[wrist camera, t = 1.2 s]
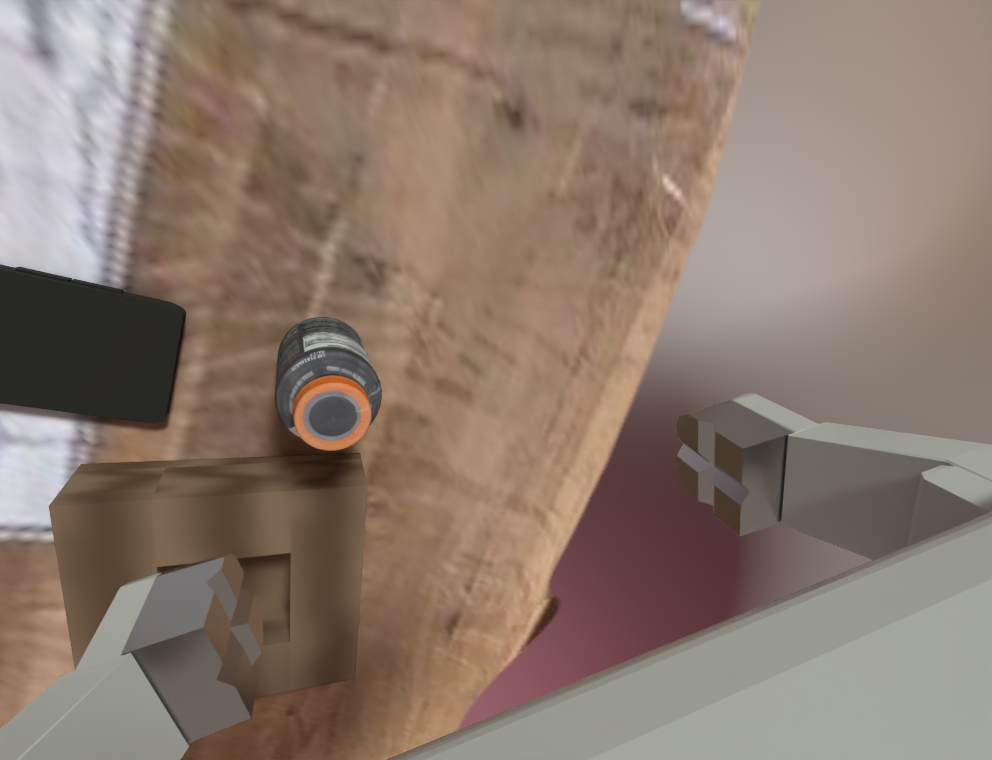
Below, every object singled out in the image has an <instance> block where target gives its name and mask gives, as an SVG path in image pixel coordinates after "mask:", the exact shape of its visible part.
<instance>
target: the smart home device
mask: <svg viewBox="0 0 992 760" xmlns="http://www.w3.org/2000/svg"><path fill="white" fill-rule="evenodd" d="M185 315H186V312H185V310H184V309H183V308H182V307H180V306H178V305H176V304H174V303H171V302H167V301H163V300H159V299H154V298H150V297H145V296H141V295H136V294H132V293H127V292H123V290H122V289H117V288H113V287H108V286H104V285H99V284H95V283H90V282H86V281H81V280H77V279H74V280H72V278H68V277H63V276H59V275H54V274H50V273H45V272H41V271H36V270H31V269H27V268H22V267H17V268H14V267H9V266H5V265H0V403H3V404H10V405H18V406H26V407H33V408H41V409H48V410H56V411H63V412H71V413H79V414H86V415H94V416H101V417H109V418H116V419H124V420H132V421H139V422H159V421H162V420H164V419H165V417H166V415H167V413H168V412H169V407H170V401H171V395H172V389H173V384H174V378H175V372H176V366H177V361H178V355H179V349H180V344H181V338H182V332H183V326H184V321H185Z"/></svg>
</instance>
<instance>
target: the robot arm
mask: <svg viewBox="0 0 992 760" xmlns="http://www.w3.org/2000/svg"><path fill="white" fill-rule="evenodd" d="M677 437H678V438H679V439H680V440H681V441H682V442H683V443H684V444H683V446H682V448H681V450H680V452H679V454H678V455H677V462H678V472H679V475H680V477H681V480H682V482H683V485H684V486H685V487H686V489H687V490H688V492H689V493H690V494H691V495H692V496H693V497H695V498H696V499H697V500H698V501H700V502H704V503H708V504H711V505H713V506H714V515H715V516H716V517H718V518H719V519H720V520H721V521H722V522H724V523H725V524H726V525H727V526H728V527H730V528H731V529H732V530H733V531H734V532H735V533H737V534H738V535H739V536H742V535H745V534H748V533H751V532H754V531H757V530H760V529H763V528H766V527H769V526H772V525H775V524H778V523H781V525H783V526H786V527H788V528H791V529H794V530H796V531H799V532H802V533H804V534H807V535H810V536H812V537H815V538H818V539H820V540H823V541H825V542H828V543H831V544H833V545H836V546H838V547H841V548H844V549H846V550H849V551H852V552H854V553H857V554H860V555H862V556H865V557H867V558H870V559H873V560H872V561H870V562H868V563H865V564H863V565H860V566H858V567H856V568H854V569H851V570H849V571H846V572H843V573H841V574H839V575H836V576H834V577H831V578H829V579H826V580H824V581H822V582H819V583H817V584H814V585H812V586H809V587H807V588H804V589H802V590H799V591H797V592H794V593H792V594H790V595H787V596H785V597H782V598H780V599H777V600H775V601H772V602H770V603H768V604H765V605H763V606H760V607H758V608H756V609H753V610H750V611H748V612H746V613H743V614H741V615H738V616H736V617H733V618H731V619H728V620H726V621H723V622H721V623H718V624H716V625H714V626H711V627H709V628H706V629H704V630H701V631H699V632H696V633H694V634H691V635H689V636H687V637H684V638H682V639H679V640H677V641H674V642H672V643H669V644H667V645H665V646H662V647H660V648H657V649H655V650H653V651H650V652H648V653H645V654H643V655H640V656H638V657H635V658H633V659H630V660H628V661H626V662H623V663H621V664H618V665H616V666H614V667H611V668H609V669H606V670H604V671H601V672H599V673H596V674H594V675H592V676H589V677H587V678H584V679H582V680H579V681H577V682H575V683H572V684H570V685H567V686H565V687H562V688H560V689H557V690H555V691H553V692H550V693H548V694H545V695H543V696H541V697H538V698H535V699H533V700H531V701H529V702H526V703H524V704H521V705H518V706H516V707H514V708H511V709H509V710H506V711H504V712H502V713H499V714H497V715H494V716H492V717H489V718H487V719H484V720H482V721H480V722H477V723H475V724H472V725H470V726H467V727H465V728H462V729H460V730H458V731H455V732H453V733H450V734H448V735H445V736H443V737H440V738H438V739H436V740H433V741H431V742H428V743H426V744H423V745H421V746H419V747H416V748H414V749H411V750H409V751H406V752H404V753H401V754H399V755H397V756H394V757H392V758H389V759H387V760H992V445H989V444H981V443H974V442H966V441H959V440H952V439H945V438H937V437H930V436H923V435H915V434H908V433H901V432H893V431H886V430H878V429H870V428H864V427H856V426H848V425H842V424H834V423H827V422H826V423H823V424H817V423H815V422H813V421H811V420H809V419H806V418H804V417H802V416H800V415H798V414H796V413H794V412H792V411H790V410H788V409H786V408H784V407H781V406H779V405H777V404H775V403H773V402H771V401H769V400H767V399H765V398H763V397H761V396H759V395H757V394H749V393H747V394H744V395H741V396H738V397H735V398H732V399H729V400H727V401H724V402H721V403H718V404H715V405H712V406H709V407H706V408H704V409H700V410H697V411H694V412H691V413H688V414H685V415H682V416H679V419H678V422H677ZM243 575H244V571H243V569H242V567H241V565H240V564H239V562H238V560H237V558H236V556H234V555H232V554H231V553H227V554H224V555H220V556H217V557H213V558H210V559H206V560H203V561H199V562H196V563H192V564H189V565H185V566H182V567H178V568H175V569H171V570H168V571H164V572H163V573H157V574H154V575H150V576H147V577H144V578H141V579H138V580H135V581H131V582H128V583H127V584H125V585H123V586H122V587H120V589H119V590H118V592H117V594H116V596H115V598H114V599H113V601H112V603H111V605H110V607H109V609H108V610H107V612H106V614H105V616H104V618H103V620H102V621H101V623H100V625H99V627H98V629H97V631H96V632H95V634H94V636H93V638H92V640H91V642H90V644H89V645H88V647H87V649H86V651H85V653H84V655H83V656H82V658H81V660H80V662H79V664H78V666H77V667H76V669H75V671H74V672H71V673H68V674H65V675H62V676H61V677H59V678H58V679H57V680H56V681H55V682H54V683H53V684H51V685H50V686H49V687H48V688H47V689H46V690H44V691H43V692H42V693H41V694H40V695H39V696H37V697H36V698H35V699H34V700H33V701H32V702H31V703H29V704H28V705H27V706H26V707H25V708H24V709H22V710H21V711H20V712H19V713H18V714H17V715H16V716H14V717H13V718H12V719H11V720H10V721H9V722H7V723H6V724H5V725H4V726H3V727H2V728H1V729H0V760H181V758H182V757H183V755H184V754H185V752H186V751H187V749H188V748H189V745H188V743H191V742H193V741H196V740H198V739H200V738H203V737H205V736H208V735H210V734H213V733H215V732H218V731H220V730H223V729H225V728H228V727H230V726H233V725H235V724H238V723H240V722H243V721H245V720H248V719H250V718H252V712H253V705H254V699H255V693H256V687H257V681H258V677H257V675H256V673H255V671H254V668H253V666H252V665H253V664H254V662H255V661H256V660H257V659H258V657H259V656H260V655H261V653H262V648H263V640H264V632H263V619H262V615H261V611H260V608H259V604H258V602H257V600H256V597H255V595H254V593H252V592H250V591H248V590H246V589H244V588H242V587H241V583H242V579H243Z"/></svg>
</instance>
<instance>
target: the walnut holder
mask: <svg viewBox="0 0 992 760" xmlns="http://www.w3.org/2000/svg"><path fill="white" fill-rule="evenodd" d="M367 487H368V486H367V481H366V477H365V473H364V469H363V464H362V460H361V456H360V453H349V454H324V455H299V456H274V457H249V458H225V459H200V460H175V461H150V462H125V463H100V464H81V465H80V466H79V467H78V469H77V470H76V471H75V473H74V474H73V475H72V477H71V478H70V479H69V481H68V482H67V483H66V484H65V486H64V487H63V488H62V490H61V491H60V492H59V494H58V495H57V496H56V498H55V499H54V500H53V502H52V503H51V504H50V505H49V510H50V517H51V523H52V529H53V535H54V542H55V548H56V554H57V560H58V567H59V573H60V579H61V585H62V591H63V598H64V604H65V610H66V616H67V623H68V629H69V635H70V641H71V647H72V654H73V660H74V666H75V669H76V667H77V666H78V664H79V662H80V660H81V658H82V656H83V655H84V653H85V651H86V649H87V647H88V645H89V644H90V642H91V640H92V638H93V636H94V634H95V632H96V631H97V629H98V627H99V625H100V623H101V621H102V620H103V618H104V616H105V614H106V612H107V610H108V609H109V607H110V605H111V603H112V601H113V599H114V598H115V596H116V594H117V592H118V590H119V589H120V587H122V586H123V585H125V584H127V583H128V582H131V581H135V580H138V579H141V578H144V577H147V576H150V575H154V574H157V573H163V572H164V571H168V570H171V569H175V568H178V567H182V566H185V565H189V564H192V563H196V562H199V561H203V560H206V559H210V558H213V557H217V556H220V555H224V554H227V553H231V554H232V555H234V556H236V558H237V560H238V562H239V564H240V565H241V567H242V569H243V571H244V575H243V579H242V583H241V587H242V588H244V589H246V590H248V591H250V592H252V593H254V595H255V597H256V600H257V602H258V604H259V608H260V611H261V615H262V619H263V632H264V640H263V648H262V653H261V655H260V656H259V657H258V659H257V660H256V661H255V662H254V664H253V665H252V666H253V668H254V671H255V673H256V675H257V677H258V681H257V687H256V693H255V698H259V697H264V696H269V695H274V694H279V693H284V692H289V691H294V690H299V689H304V688H309V687H314V686H319V685H324V684H329V683H334V682H339V681H344V680H349V679H354V678H355V670H356V655H357V640H358V625H359V609H360V594H361V579H362V564H363V548H364V533H365V518H366V503H367Z"/></svg>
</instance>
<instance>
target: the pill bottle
mask: <svg viewBox="0 0 992 760" xmlns="http://www.w3.org/2000/svg"><path fill="white" fill-rule="evenodd" d="M381 398H382V390H381V385H380V381H379V379H378V376H377V374H376V372H375V369H374V367H373V365H372V362H371V360H370V358H369V356H368V354H367V351H366V349H365V347H364V345H363V342H362V340H361V338H360V337H359V336H358V334H357V333H356V332H355V331H354V330H353V329H352V328H351V327H350V326H349V325H347V324H345V323H344V322H341V321H339V320H336V319H333V318H327V317H317V318H311V319H307V320H305V321H302V322H300V323H298V324H296V325H295V326H294V327H293V328H292V329H290V330H289V331H288V332H287V334H286V335H285V337H284V338H283V340H282V342H281V344H280V348H279V351H278V361H277V377H276V393H275V402H276V408H277V411H278V414H279V417H280V419H281V420H282V422H283V423H284V425H285V426H286V427H287V428H288V429H289V430H290V431H291V432H292V433H294V434H295V435H296V436H298V437H300V438H302V439H303V441H304V442H306V443H307V444H309V445H310V446H312V447H314V448H317V449H320V450H326V451H335V450H341V449H345V448H347V447H350V446H352V445H353V444H355V443H356V442H358V441H359V440H360V439H361V438H362V437H363V436H364V434H365V433H366V432H367V430H368V428H369V426H370V425H371V423H372V422H373V420H374V419H375V417H376V415H377V413H378V411H379V408H380V405H381Z"/></svg>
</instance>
